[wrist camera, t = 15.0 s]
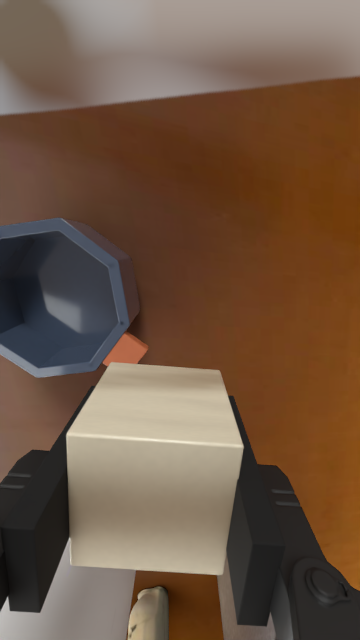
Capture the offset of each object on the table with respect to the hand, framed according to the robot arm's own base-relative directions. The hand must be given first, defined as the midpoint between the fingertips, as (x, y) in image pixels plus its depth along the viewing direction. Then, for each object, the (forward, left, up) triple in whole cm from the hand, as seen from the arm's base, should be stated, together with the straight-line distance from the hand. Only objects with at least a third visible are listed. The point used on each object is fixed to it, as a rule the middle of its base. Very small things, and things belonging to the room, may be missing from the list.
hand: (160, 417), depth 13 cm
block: (0, 0, 0) cm, 0 cm away
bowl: (+3, -8, -13) cm, 16 cm away
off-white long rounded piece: (+30, +25, -15) cm, 42 cm away
